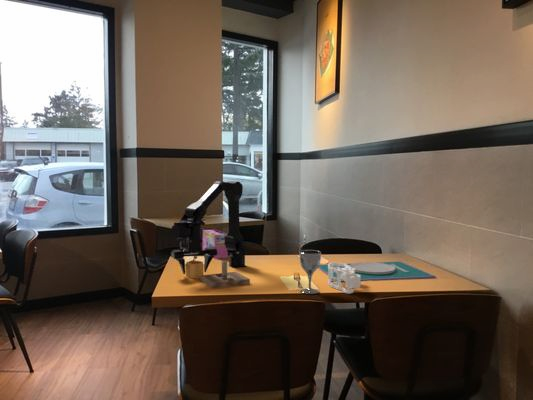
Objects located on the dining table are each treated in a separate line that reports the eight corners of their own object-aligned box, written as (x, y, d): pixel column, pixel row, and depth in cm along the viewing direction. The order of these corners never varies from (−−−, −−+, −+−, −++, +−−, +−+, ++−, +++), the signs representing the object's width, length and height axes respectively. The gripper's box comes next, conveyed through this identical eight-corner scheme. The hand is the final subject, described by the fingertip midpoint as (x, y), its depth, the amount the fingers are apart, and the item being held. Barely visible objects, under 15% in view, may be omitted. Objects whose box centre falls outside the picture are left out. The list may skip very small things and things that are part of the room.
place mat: (400, 262, 223) (400, 258, 223) (435, 277, 194) (435, 272, 194) (313, 266, 214) (314, 261, 214) (336, 282, 184) (336, 277, 184)
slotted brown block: (236, 276, 191) (236, 256, 190) (249, 284, 178) (249, 262, 178) (199, 280, 184) (199, 259, 183) (211, 288, 171) (211, 266, 171)
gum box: (201, 252, 245) (201, 228, 244) (214, 251, 248) (214, 228, 247) (214, 259, 224) (214, 234, 223) (228, 258, 228) (228, 233, 227)
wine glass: (305, 287, 174) (306, 248, 173) (324, 290, 170) (324, 251, 169) (295, 291, 168) (295, 252, 167) (313, 295, 163) (314, 254, 162)
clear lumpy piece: (362, 293, 167) (362, 274, 166) (332, 293, 167) (333, 273, 166) (352, 279, 187) (353, 262, 186) (326, 279, 187) (326, 262, 186)
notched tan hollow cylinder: (199, 273, 195) (199, 260, 194) (205, 277, 188) (205, 263, 188) (184, 275, 191) (184, 261, 191) (189, 279, 185) (188, 265, 185)
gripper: (209, 232, 200) (209, 267, 201) (167, 235, 192) (167, 271, 193) (217, 236, 190) (218, 272, 191) (174, 239, 182) (174, 277, 183)
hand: (194, 273), depth 190 cm, fingers open, 9 cm apart
